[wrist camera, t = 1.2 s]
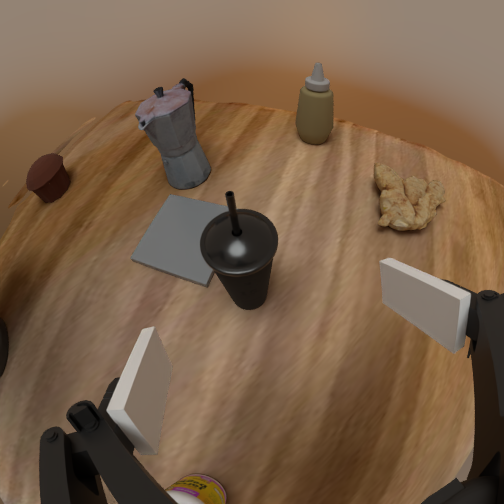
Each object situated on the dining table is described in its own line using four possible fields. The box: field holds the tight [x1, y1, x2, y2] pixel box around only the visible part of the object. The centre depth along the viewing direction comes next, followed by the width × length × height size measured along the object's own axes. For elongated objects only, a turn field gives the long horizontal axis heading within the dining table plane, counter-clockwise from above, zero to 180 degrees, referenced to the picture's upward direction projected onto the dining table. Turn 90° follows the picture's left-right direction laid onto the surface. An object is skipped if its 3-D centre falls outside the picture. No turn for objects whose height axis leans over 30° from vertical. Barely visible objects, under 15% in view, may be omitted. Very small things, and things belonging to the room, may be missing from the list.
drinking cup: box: [200, 191, 278, 310], centre depth 30 cm, size 8×8×20 cm
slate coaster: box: [131, 194, 229, 287], centre depth 44 cm, size 14×14×1 cm
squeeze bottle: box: [296, 63, 333, 144], centre depth 48 cm, size 8×8×18 cm
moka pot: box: [135, 78, 211, 189], centre depth 44 cm, size 10×15×20 cm, turn 165°
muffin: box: [26, 153, 71, 203], centre depth 51 cm, size 12×11×10 cm
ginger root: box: [374, 163, 446, 231], centre depth 42 cm, size 16×16×8 cm
